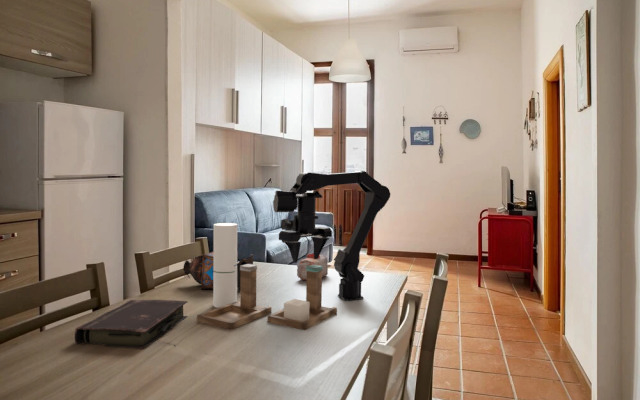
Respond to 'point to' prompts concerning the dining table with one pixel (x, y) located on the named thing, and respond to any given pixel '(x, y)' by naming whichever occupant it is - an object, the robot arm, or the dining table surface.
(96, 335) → the diary
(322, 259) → the food item
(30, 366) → the dining table surface
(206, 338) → the dining table surface
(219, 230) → the cylindrical container
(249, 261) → the patterned brown vase
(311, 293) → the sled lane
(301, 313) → the cube
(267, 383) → the dining table surface
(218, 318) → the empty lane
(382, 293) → the dining table surface
